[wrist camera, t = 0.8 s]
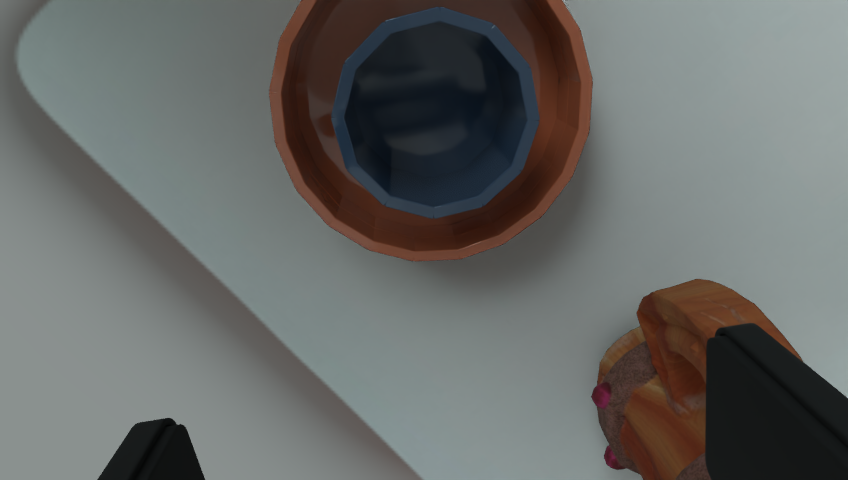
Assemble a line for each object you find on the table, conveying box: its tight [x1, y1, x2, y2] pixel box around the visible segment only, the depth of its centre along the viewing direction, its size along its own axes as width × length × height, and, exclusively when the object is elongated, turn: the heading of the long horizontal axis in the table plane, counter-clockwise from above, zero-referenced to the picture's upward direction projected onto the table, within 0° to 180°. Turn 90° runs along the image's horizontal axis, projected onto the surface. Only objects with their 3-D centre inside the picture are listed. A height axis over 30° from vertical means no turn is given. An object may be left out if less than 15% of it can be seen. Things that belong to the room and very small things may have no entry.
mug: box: [591, 279, 803, 480], centre depth 25 cm, size 15×8×15 cm, turn 17°
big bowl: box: [269, 0, 593, 261], centre depth 25 cm, size 13×13×4 cm
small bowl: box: [331, 6, 540, 219], centre depth 24 cm, size 8×8×6 cm
